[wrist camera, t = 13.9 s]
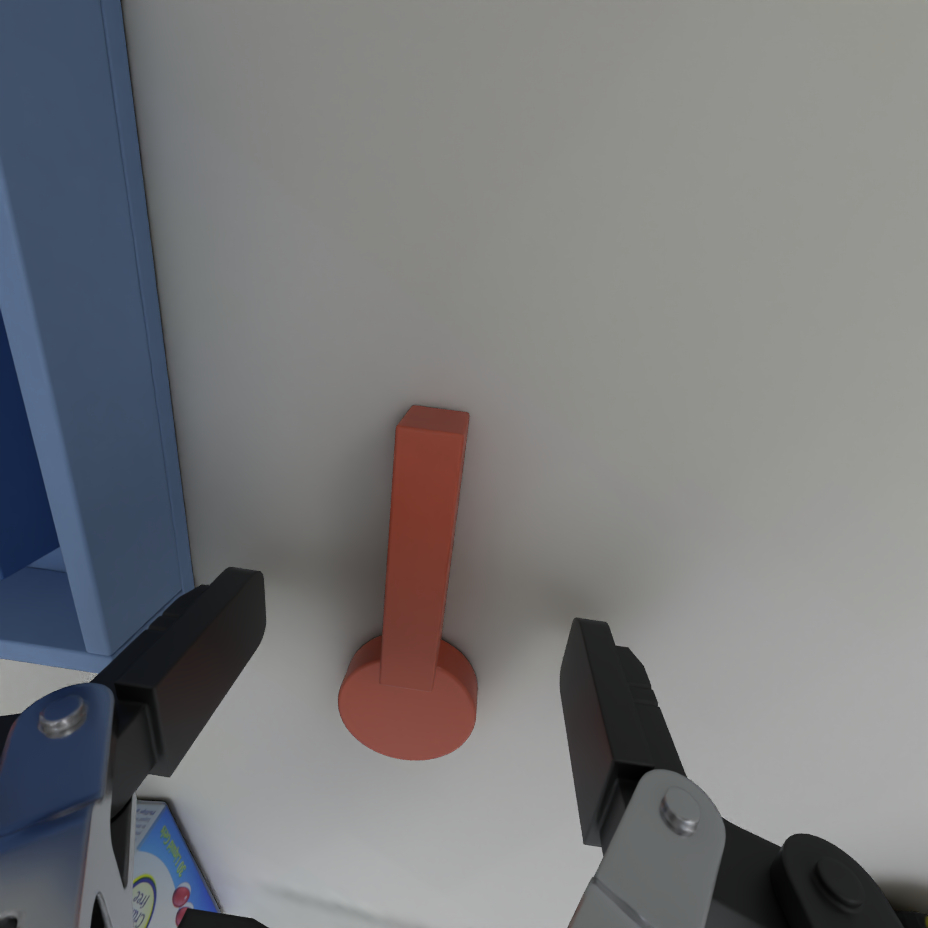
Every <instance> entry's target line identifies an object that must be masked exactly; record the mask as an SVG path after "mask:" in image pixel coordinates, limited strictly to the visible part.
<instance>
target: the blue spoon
mask: <svg viewBox="0 0 928 928" xmlns="http://www.w3.org/2000/svg"><path fill="white" fill-rule="evenodd" d="M59 547H60V544H59V540H58V536H57V532H56V528H55V524H54V520H53V516H52V512H51V508H50V504H49V500H48V496H47V492H46V489H45V485H44V481H43V477H42V473H41V469H40V465H39V461H38V457H37V453H36V449H35V445H34V441H33V437H32V433H31V429H30V425H29V421H28V417H27V413H26V409H25V405H24V401H23V397H22V393H21V389H20V385H19V381H18V377H17V373H16V369H15V365H14V361H13V357H12V353H11V349H10V345H9V341H8V337H7V333H6V329H5V325H4V321H3V317H2V313H1V309H0V580H4V579H6V578H8V577H9V576H11V575H13V574H14V573H16V572H18V571H19V570H21V569H23V568H25V567H26V566H28V565H30V564H31V563H33V562H35V561H37V560H38V559H40V558H42V557H43V556H45V555H47V554H49V553H50V552H52V551H54V550H55V549H57V548H59Z"/></svg>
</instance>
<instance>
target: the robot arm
mask: <svg viewBox="0 0 928 928" xmlns="http://www.w3.org/2000/svg"><path fill="white" fill-rule="evenodd" d="M265 627H266V607H265V589H264V576H263V574H262V572H261V571H256V570H249V569H242V568H235V567H228V568H227V569H225V570H224V571H223V572H222V573H221V574H220V575H219V576H218V577H217V578H216V579H215V580H214V581H213V582H212V583H211V584H210V585H200V586H198V587H196V588H194V589H193V590H191V591H189V592H187V593H185V594H184V595H182V596H180V597H179V598H178V599H177V600H175V601H174V602H173V603H172V604H171V605H170V606H169V607H168V608H167V609H166V610H165V611H164V612H163V614H162V616H159V617H158V618H157V619H156V620H155V621H153V622H152V623H151V624H150V625H149V628H148V629H147V630H146V629H145V630H144V631H143V632H142V633H141V634H140V635H139V636H138V637H137V638H136V639H135V640H134V641H133V642H132V643H130V644H129V645H128V646H127V647H126V648H125V649H124V650H123V651H122V652H121V653H120V654H119V655H118V656H117V657H116V658H115V659H114V660H113V661H112V662H111V663H110V664H108V665H107V666H106V667H105V668H104V669H103V670H102V671H101V672H100V673H99V674H98V675H97V676H96V677H95V678H94V679H93V680H92V681H91V682H89V683H81V684H76V685H71V686H68V687H65V688H62V689H59V690H57V691H54V692H52V693H50V694H48V695H46V696H44V697H43V698H41V699H39V700H38V701H36V702H35V703H33V704H32V705H31V706H29V707H28V708H27V709H26V710H25V711H23V712H22V713H21V714H14V715H6V716H0V928H134V921H133V875H134V852H135V830H136V807H137V796H136V790H137V788H138V787H139V786H140V784H141V783H142V782H143V780H144V779H145V777H146V776H147V775H148V774H152V775H158V776H164V777H170V776H171V775H172V773H173V772H174V770H175V769H176V768H177V766H178V765H179V763H180V762H181V760H182V759H183V757H184V756H185V754H186V753H187V751H188V750H189V748H190V747H191V745H192V744H193V742H194V741H195V739H196V738H197V737H198V735H199V734H200V732H201V731H202V729H203V728H204V726H205V725H206V723H207V722H208V720H209V719H210V717H211V716H212V714H213V713H214V711H215V710H216V708H217V707H218V706H219V704H220V703H221V701H222V700H223V698H224V697H225V695H226V694H227V692H228V691H229V689H230V688H231V686H232V685H233V683H234V682H235V680H236V679H237V677H238V676H239V675H240V673H241V672H242V670H243V669H244V667H245V666H246V664H247V663H248V661H249V660H250V658H251V657H252V655H253V654H254V652H255V651H256V649H257V648H258V646H259V645H260V643H261V640H262V638H263V635H264V632H265ZM560 694H561V700H562V707H563V713H564V720H565V726H566V733H567V739H568V746H569V752H570V759H571V765H572V772H573V778H574V785H575V791H576V798H577V804H578V811H579V817H580V824H581V830H582V837H583V843H584V844H585V845H591V846H598V847H602V852H603V859H602V861H601V863H600V865H599V867H598V869H597V871H596V873H595V875H594V877H592V879H591V880H590V882H589V884H588V886H587V888H586V890H585V892H584V894H583V896H582V898H581V900H580V902H579V904H578V907H577V909H576V911H575V913H574V915H573V917H572V919H571V921H570V923H569V925H568V928H904V927H903V925H902V923H901V922H900V920H899V918H898V917H897V915H896V914H895V912H894V910H893V909H892V907H891V905H890V904H889V902H888V900H887V899H886V897H885V896H884V894H883V893H882V891H881V890H880V888H879V887H878V885H877V884H876V883H875V881H874V880H873V879H872V878H871V876H870V875H869V874H868V873H867V872H866V871H865V870H864V869H863V868H862V867H861V866H860V865H859V864H858V863H857V862H856V861H855V860H854V859H853V858H851V857H850V856H849V855H848V854H846V853H845V852H844V851H842V850H841V849H839V848H838V847H836V846H835V845H833V844H831V843H830V842H828V841H826V840H824V839H821V838H819V837H817V836H813V835H809V834H794V835H792V836H790V837H789V838H788V839H787V840H786V841H785V843H784V844H783V846H782V847H780V846H778V845H776V844H774V843H771V842H769V841H767V840H765V839H763V838H761V837H759V836H757V835H755V834H752V833H750V832H748V831H746V830H744V829H742V828H740V827H738V826H736V825H734V824H732V823H730V822H729V821H727V820H726V819H724V818H723V817H721V815H720V813H719V811H718V809H717V808H716V806H715V804H714V803H713V802H712V800H711V799H710V798H709V797H708V795H707V794H706V793H705V792H704V791H703V790H702V789H701V788H700V787H699V786H698V785H696V784H695V783H694V782H692V781H691V780H689V779H688V778H687V776H686V774H685V771H684V769H683V766H682V764H681V761H680V758H679V756H678V753H677V751H676V748H675V746H674V743H673V740H672V738H671V735H670V733H669V730H668V728H667V725H666V722H665V720H664V717H663V715H662V712H661V709H660V707H658V702H657V699H656V697H655V694H654V691H653V690H651V684H650V681H649V678H648V676H647V673H646V671H645V668H644V666H643V665H642V663H641V662H640V661H639V660H638V659H637V657H636V656H635V655H634V654H633V653H632V651H631V650H630V649H629V648H628V647H621V646H615V643H614V640H613V637H612V634H611V631H610V628H609V625H608V623H607V622H603V621H596V620H589V619H582V618H575V619H574V620H573V623H572V626H571V630H570V634H569V638H568V642H567V645H566V649H565V653H564V657H563V661H562V665H561V671H560ZM177 928H268V927H266V926H265V925H263V924H261V923H260V922H258V921H256V920H255V919H253V918H246V917H240V916H234V915H228V914H222V913H216V912H210V911H204V910H198V909H191V908H187V910H186V912H185V914H184V916H183V918H182V920H181V922H180V924H179V925H178V927H177Z"/></svg>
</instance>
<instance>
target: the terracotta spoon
mask: <svg viewBox="0 0 928 928" xmlns="http://www.w3.org/2000/svg"><path fill="white" fill-rule="evenodd" d="M469 417H470V415H469V413H467V412H461V411H453V410H446V409H438V408H431V407H424V406H416V405H413V406H411V408H410V409H409V410H408V412H407V413H406V414H405V416H404V417H403V418H402V420H401V421H400V422H399V424H398V425H397V426H396V430H395V446H394V461H393V476H392V492H391V507H390V522H389V538H388V553H387V569H386V584H385V599H384V615H383V630H382V635H381V636H378V637H376V638H374V639H372V640H370V641H369V642H367V643H366V644H364V645H363V646H362V647H361V648H360V649H359V650H358V651H357V652H356V654H355V655H354V656H353V658H352V660H351V662H350V665H349V667H348V670H347V672H346V675H345V677H344V680H343V682H342V685H341V687H340V691H339V695H338V707H339V712H340V716H341V718H342V721H343V723H344V724H345V726H346V728H347V729H348V730H349V732H350V733H351V734H352V735H353V736H354V737H355V738H356V739H357V740H358V741H360V742H361V743H362V744H364V745H365V746H367V747H368V748H370V749H372V750H374V751H376V752H378V753H381V754H383V755H386V756H389V757H393V758H397V759H403V760H429V759H434V758H438V757H441V756H444V755H446V754H449V753H451V752H453V751H454V750H456V749H457V748H459V747H460V746H461V745H462V744H463V743H464V742H465V741H466V740H467V739H468V737H469V736H470V734H471V732H472V730H473V728H474V725H475V721H476V710H477V691H478V686H477V679H476V675H475V673H474V670H473V668H472V666H471V665H470V663H469V661H468V660H467V659H466V658H465V656H464V655H463V654H462V653H461V652H460V651H458V650H457V649H456V648H455V647H453V646H452V645H451V644H449V643H447V642H445V641H444V640H441V637H442V629H443V621H444V613H445V605H446V597H447V590H448V582H449V574H450V566H451V558H452V550H453V543H454V535H455V527H456V519H457V511H458V504H459V496H460V488H461V480H462V472H463V464H464V457H465V449H466V441H467V433H468V425H469Z"/></svg>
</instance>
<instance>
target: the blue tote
mask: <svg viewBox="0 0 928 928" xmlns="http://www.w3.org/2000/svg"><path fill="white" fill-rule="evenodd" d="M0 309H1V313H2V317H3V321H4V325H5V329H6V333H7V337H8V341H9V345H10V349H11V353H12V357H13V361H14V365H15V369H16V373H17V377H18V381H19V385H20V389H21V393H22V397H23V401H24V405H25V409H26V413H27V417H28V421H29V425H30V429H31V433H32V437H33V441H34V445H35V449H36V453H37V457H38V461H39V465H40V469H41V473H42V477H43V481H44V485H45V489H46V492H47V496H48V500H49V504H50V508H51V512H52V516H53V520H54V524H55V528H56V532H57V536H58V540H59V544H60V547H59V548H57V549H55V550H54V551H52V552H50V553H49V554H47V555H45V556H43V557H42V558H40V559H38V560H37V561H35V562H33V563H31V564H30V565H28V566H26V567H25V568H23V569H21V570H19V571H18V572H16V573H14V574H13V575H11V576H9V577H8V578H6V579H4V580H0V658H1V659H8V660H14V661H21V662H27V663H34V664H40V665H47V666H53V667H60V668H66V669H73V670H79V671H86V672H92V673H100V672H101V671H102V670H103V669H104V668H105V667H106V666H107V665H108V664H110V663H111V662H112V661H113V660H114V659H115V658H116V657H117V656H118V655H119V654H120V653H121V652H122V651H123V650H124V649H125V648H126V647H127V646H128V645H129V644H130V643H132V642H133V641H134V640H135V639H136V638H137V637H138V636H139V635H140V634H141V633H142V632H143V631H144V630H145V629H146V630H147V629H148V628H149V625H150V624H151V623H152V622H153V621H155V620H156V619H157V618H158V617H159V616H162V614H163V612H164V611H165V610H166V609H167V608H168V607H169V606H170V605H171V604H172V603H173V602H174V601H175V600H177V599H178V598H179V597H180V596H182V595H184V594H185V593H187V592H189V591H191V590H193V589H194V588H195V587H194V579H193V571H192V563H191V555H190V547H189V539H188V531H187V524H186V516H185V508H184V500H183V492H182V484H181V476H180V468H179V460H178V452H177V444H176V436H175V429H174V421H173V413H172V405H171V397H170V389H169V381H168V373H167V365H166V357H165V349H164V341H163V334H162V326H161V318H160V310H159V302H158V294H157V286H156V278H155V270H154V262H153V254H152V247H151V239H150V231H149V223H148V215H147V207H146V199H145V191H144V183H143V175H142V167H141V159H140V152H139V144H138V136H137V128H136V120H135V112H134V104H133V96H132V88H131V80H130V72H129V64H128V57H127V49H126V41H125V33H124V25H123V17H122V9H121V1H120V0H0Z"/></svg>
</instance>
